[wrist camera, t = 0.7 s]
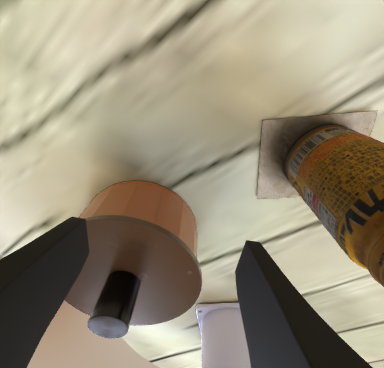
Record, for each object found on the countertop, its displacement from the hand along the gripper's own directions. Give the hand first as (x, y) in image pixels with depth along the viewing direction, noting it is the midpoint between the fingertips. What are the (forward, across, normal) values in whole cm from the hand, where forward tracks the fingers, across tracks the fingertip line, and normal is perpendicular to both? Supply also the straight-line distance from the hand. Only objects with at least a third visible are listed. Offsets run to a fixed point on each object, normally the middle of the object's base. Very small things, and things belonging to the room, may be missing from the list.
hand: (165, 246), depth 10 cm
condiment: (+10, -11, -2) cm, 15 cm away
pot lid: (+4, +3, +8) cm, 10 cm away
